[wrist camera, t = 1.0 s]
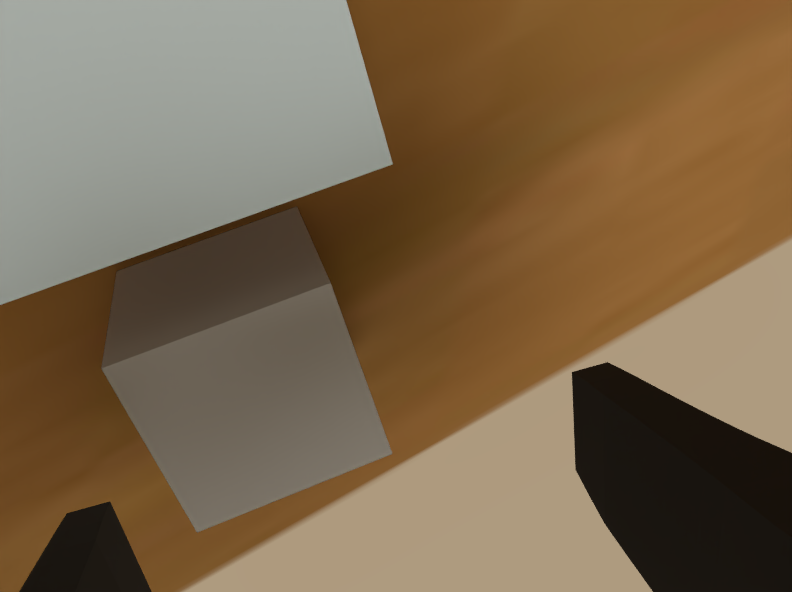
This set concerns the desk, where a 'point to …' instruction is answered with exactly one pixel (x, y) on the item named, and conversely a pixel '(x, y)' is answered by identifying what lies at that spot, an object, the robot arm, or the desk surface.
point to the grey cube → (240, 369)
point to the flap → (168, 123)
